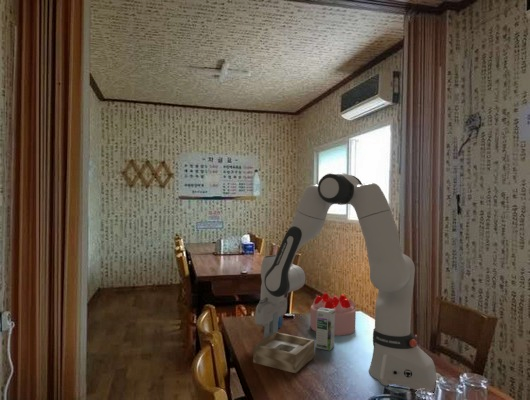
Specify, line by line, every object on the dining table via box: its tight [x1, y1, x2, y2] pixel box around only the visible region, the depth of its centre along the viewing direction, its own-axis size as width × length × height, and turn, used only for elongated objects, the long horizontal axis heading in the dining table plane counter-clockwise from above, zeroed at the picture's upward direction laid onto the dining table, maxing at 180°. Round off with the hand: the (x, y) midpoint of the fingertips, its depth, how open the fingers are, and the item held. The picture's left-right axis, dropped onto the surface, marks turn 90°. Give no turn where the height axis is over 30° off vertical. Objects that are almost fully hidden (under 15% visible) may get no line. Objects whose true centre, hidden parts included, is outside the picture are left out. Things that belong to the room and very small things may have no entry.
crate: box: [252, 331, 316, 374], centre depth 137 cm, size 16×16×6 cm
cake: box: [309, 292, 357, 337], centre depth 172 cm, size 20×20×14 cm
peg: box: [263, 312, 279, 339], centre depth 154 cm, size 4×4×12 cm
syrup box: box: [315, 308, 335, 352], centre depth 150 cm, size 6×6×14 cm
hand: (271, 330), depth 154 cm, fingers closed on peg, 4 cm apart
